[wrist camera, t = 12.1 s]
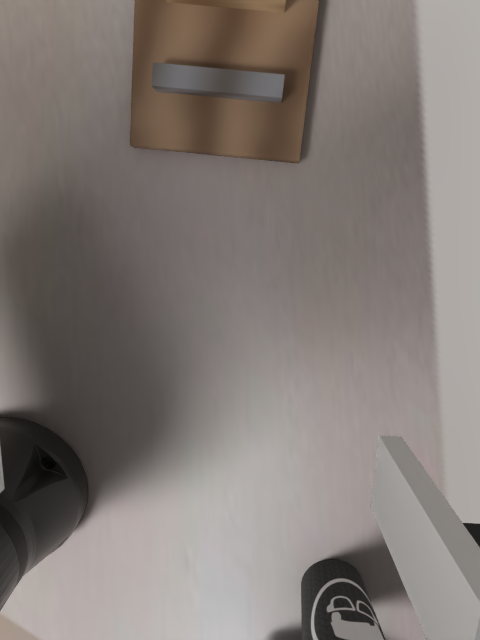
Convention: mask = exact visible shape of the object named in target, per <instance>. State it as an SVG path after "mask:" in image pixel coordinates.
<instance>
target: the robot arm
mask: <svg viewBox="0 0 480 640" xmlns="http://www.w3.org/2000/svg"><path fill="white" fill-rule="evenodd" d="M87 498H88V486H87V480H86V476H85V472H84V470H83V467H82V465H81V463H80V461H79V459H78V458H77V456H76V455H75V453H74V452H73V450H72V449H71V448H70V447H69V446H68V445H67V444H66V443H65V442H64V441H63V440H62V439H61V438H60V437H58V436H57V435H56V434H54V433H53V432H51V431H50V430H48V429H46V428H44V427H42V426H40V425H38V424H35V423H33V422H30V421H26V420H22V419H16V418H0V610H1V609H2V607H3V606H4V604H5V602H6V601H7V599H8V598H9V596H10V595H11V593H12V591H13V590H14V588H15V587H16V585H17V584H18V582H19V581H20V579H21V578H22V576H23V575H25V574H26V573H27V572H28V571H30V570H31V569H32V568H33V567H34V566H36V565H37V564H38V563H39V562H41V561H42V560H43V559H44V558H45V557H46V556H48V555H49V554H51V553H52V552H54V551H55V550H56V549H58V548H59V547H60V546H61V545H63V543H64V542H65V541H66V540H67V539H68V538H69V537H70V535H71V534H72V532H73V531H74V529H75V528H76V526H77V524H78V523H79V521H80V519H81V517H82V516H83V513H84V511H85V508H86V504H87ZM370 507H371V509H372V512H373V514H374V516H375V519H376V521H377V523H378V526H379V528H380V530H381V533H382V535H383V537H384V540H385V542H386V545H387V547H388V549H389V552H390V554H391V556H392V559H393V561H394V563H395V566H396V568H397V570H398V573H399V575H400V578H401V580H402V582H403V585H404V587H405V589H406V592H407V594H408V596H409V599H410V601H411V603H412V606H413V608H414V611H415V613H416V615H417V618H418V620H419V622H420V625H421V627H422V629H423V632H424V634H425V636H426V639H427V640H480V524H472V523H462V522H461V520H460V519H459V517H458V516H457V515H456V513H455V512H454V510H453V509H452V508H451V506H450V505H449V503H448V502H447V500H446V499H445V498H444V496H443V495H442V493H441V492H440V491H439V489H438V488H437V486H436V485H435V483H434V482H433V481H432V479H431V478H430V476H429V475H428V474H427V472H426V471H425V469H424V468H423V466H422V465H421V464H420V462H419V461H418V459H417V458H416V457H415V455H414V454H413V452H412V451H411V449H410V448H409V447H408V445H407V444H406V442H405V441H404V440H403V438H402V437H398V436H379V440H378V448H377V456H376V464H375V472H374V480H373V488H372V496H371V504H370Z"/></svg>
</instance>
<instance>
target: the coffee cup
mask: <svg viewBox="0 0 480 640" xmlns="http://www.w3.org/2000/svg"><path fill="white" fill-rule="evenodd" d="M301 605H302V640H385V637H384V635H383V632H382V630H381V627H380V624H379V622H378V619H377V617H376V614H375V612H374V609H373V607H372V604H371V601H370V599H369V596H368V594H367V591H366V589H365V586H364V583H363V581H362V578H361V576H360V574H359V572H358V571H357V570H356V569H355V568H354V567H353V566H351V565H350V564H348V563H346V562H343V561H340V560H324V561H321V562H318V563H316V564H314V565H312V566H311V567H310V568H309V569H308V570H307V571H306V572H305V574H304V576H303V578H302V582H301Z"/></svg>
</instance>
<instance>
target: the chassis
mask: <svg viewBox="0 0 480 640" xmlns="http://www.w3.org/2000/svg"><path fill="white" fill-rule="evenodd" d="M318 5H319V0H135V13H134V42H133V71H132V101H131V130H130V145H131V146H132V147H135V148H145V149H156V150H166V151H176V152H187V153H197V154H207V155H218V156H228V157H238V158H249V159H259V160H269V161H280V162H290V163H299V160H300V152H301V144H302V136H303V128H304V120H305V111H306V103H307V95H308V87H309V79H310V70H311V62H312V54H313V46H314V38H315V30H316V21H317V13H318Z"/></svg>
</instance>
